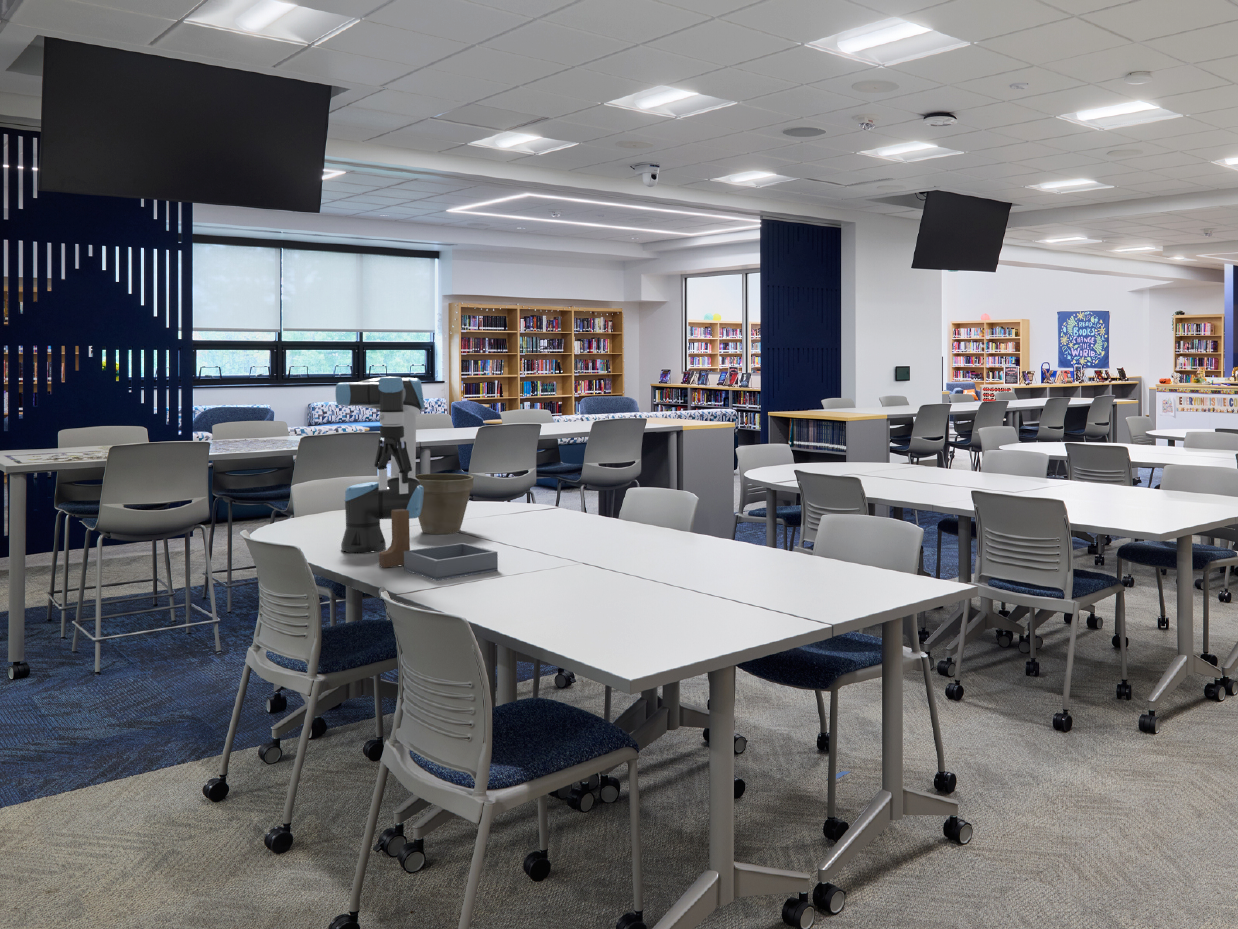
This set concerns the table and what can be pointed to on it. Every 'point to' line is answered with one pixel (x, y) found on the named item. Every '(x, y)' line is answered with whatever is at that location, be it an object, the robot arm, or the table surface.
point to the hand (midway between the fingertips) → (393, 491)
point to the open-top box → (450, 561)
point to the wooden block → (397, 540)
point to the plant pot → (444, 502)
